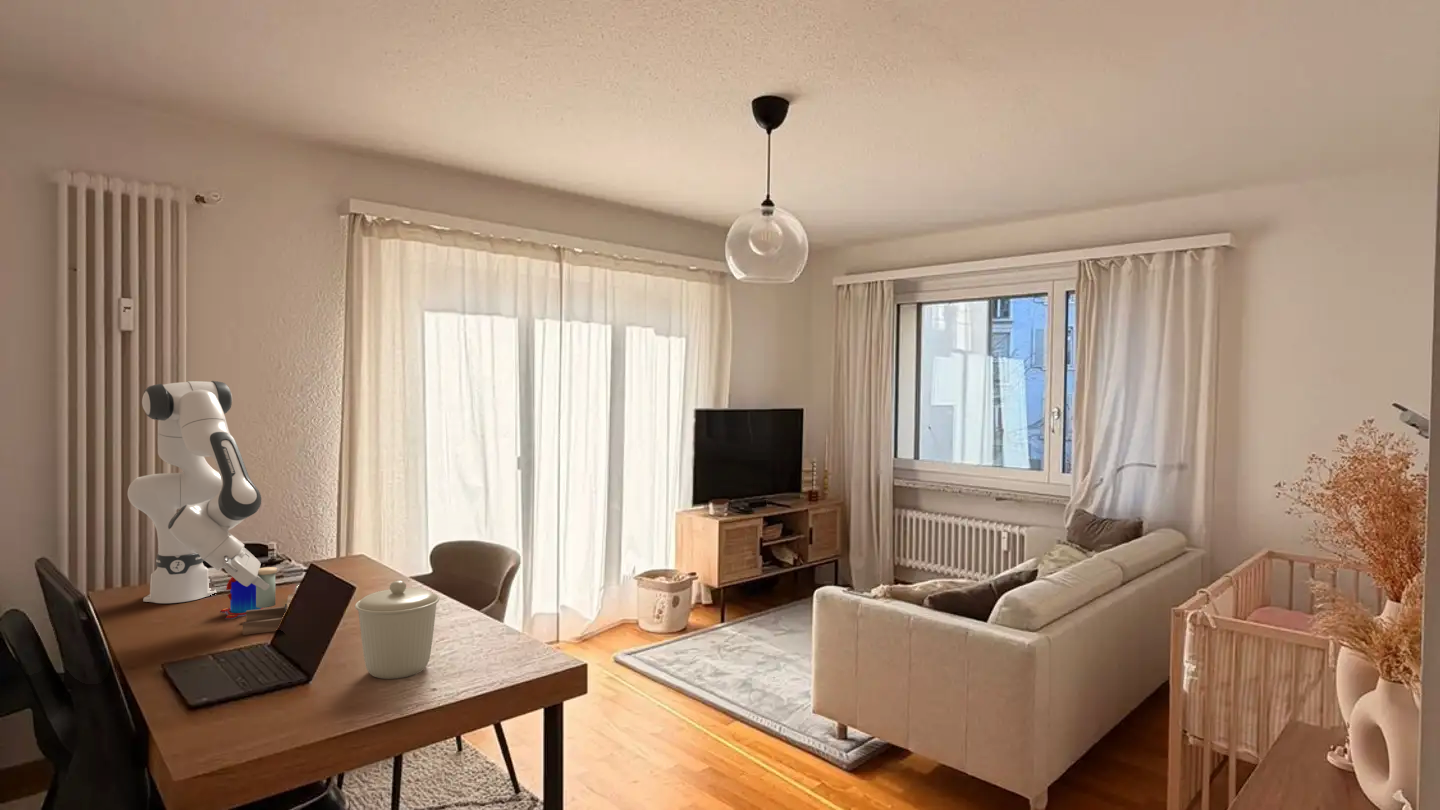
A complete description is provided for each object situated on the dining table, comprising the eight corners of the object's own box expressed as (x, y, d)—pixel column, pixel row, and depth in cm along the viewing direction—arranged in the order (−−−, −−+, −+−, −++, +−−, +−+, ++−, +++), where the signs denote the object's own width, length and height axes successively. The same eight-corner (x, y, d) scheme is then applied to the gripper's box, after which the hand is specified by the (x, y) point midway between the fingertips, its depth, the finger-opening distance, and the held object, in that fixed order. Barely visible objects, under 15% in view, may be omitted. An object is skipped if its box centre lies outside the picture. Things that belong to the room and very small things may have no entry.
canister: (387, 692, 167) (387, 595, 167) (338, 675, 177) (338, 583, 177) (456, 667, 183) (456, 578, 182) (407, 653, 192) (407, 568, 192)
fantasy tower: (225, 620, 219) (225, 577, 219) (218, 611, 228) (218, 570, 228) (272, 612, 227) (272, 571, 227) (264, 604, 236) (263, 564, 236)
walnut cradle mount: (246, 620, 219) (246, 598, 219) (294, 614, 225) (294, 594, 224) (242, 636, 205) (242, 613, 205) (293, 629, 210) (293, 607, 210)
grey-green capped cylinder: (255, 604, 215) (254, 568, 215) (277, 602, 218) (277, 566, 218) (253, 609, 210) (253, 572, 210) (276, 606, 213) (276, 570, 213)
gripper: (232, 551, 201) (276, 584, 206) (239, 538, 220) (278, 569, 224) (212, 570, 199) (256, 603, 204) (220, 556, 218) (261, 586, 222)
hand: (268, 585), depth 214 cm, fingers closed on grey-green capped cylinder, 5 cm apart
